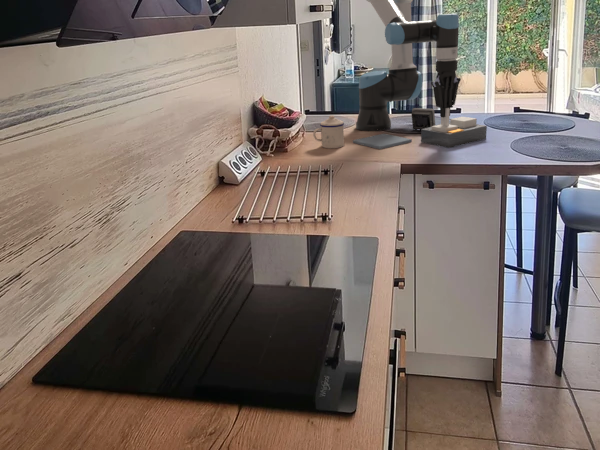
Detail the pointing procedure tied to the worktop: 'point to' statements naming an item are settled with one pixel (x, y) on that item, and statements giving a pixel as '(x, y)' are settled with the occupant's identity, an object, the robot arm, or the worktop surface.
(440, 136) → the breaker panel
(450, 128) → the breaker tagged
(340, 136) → the teacup with lid
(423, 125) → the electrical switch
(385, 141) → the pad
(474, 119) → the block
